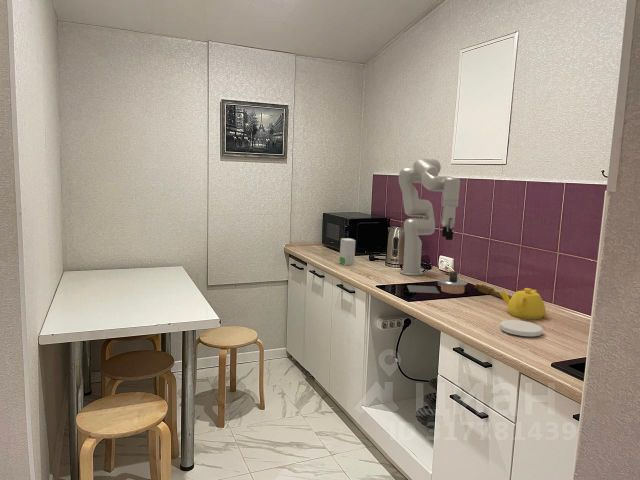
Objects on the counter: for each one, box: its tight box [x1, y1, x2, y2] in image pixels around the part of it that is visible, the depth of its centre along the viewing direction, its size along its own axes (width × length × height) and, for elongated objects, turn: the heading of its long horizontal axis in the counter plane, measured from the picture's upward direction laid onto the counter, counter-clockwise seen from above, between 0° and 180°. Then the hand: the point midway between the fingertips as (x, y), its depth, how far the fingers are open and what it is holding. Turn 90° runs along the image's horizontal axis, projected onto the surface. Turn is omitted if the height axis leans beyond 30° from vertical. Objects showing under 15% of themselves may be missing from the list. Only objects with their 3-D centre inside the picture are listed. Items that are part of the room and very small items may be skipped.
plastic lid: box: [499, 319, 543, 337], centre depth 172 cm, size 14×14×2 cm
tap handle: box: [473, 283, 513, 301], centre depth 224 cm, size 3×3×30 cm
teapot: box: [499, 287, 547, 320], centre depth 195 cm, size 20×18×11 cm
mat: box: [406, 284, 440, 294], centre depth 232 cm, size 14×14×1 cm
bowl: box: [440, 283, 466, 295], centre depth 229 cm, size 10×10×4 cm
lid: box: [438, 270, 468, 286], centre depth 229 cm, size 13×13×5 cm
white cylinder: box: [338, 237, 357, 266], centre depth 294 cm, size 8×7×16 cm
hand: (447, 238), depth 234 cm, fingers open, 9 cm apart
